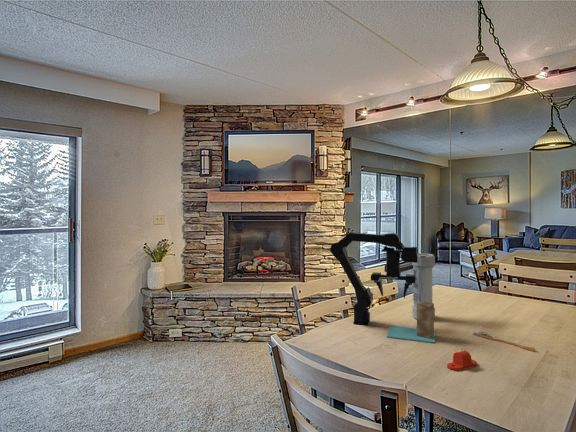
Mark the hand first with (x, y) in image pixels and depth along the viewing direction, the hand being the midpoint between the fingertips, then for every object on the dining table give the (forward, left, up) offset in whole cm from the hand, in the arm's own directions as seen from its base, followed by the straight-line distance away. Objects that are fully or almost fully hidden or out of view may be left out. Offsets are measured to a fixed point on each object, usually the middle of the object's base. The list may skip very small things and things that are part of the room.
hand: (393, 297), depth 157 cm
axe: (+42, -3, -14) cm, 44 cm away
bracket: (+25, -33, -14) cm, 44 cm away
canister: (+12, +18, -13) cm, 25 cm away
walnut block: (+13, -9, -12) cm, 20 cm away
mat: (+8, -8, -13) cm, 17 cm away
